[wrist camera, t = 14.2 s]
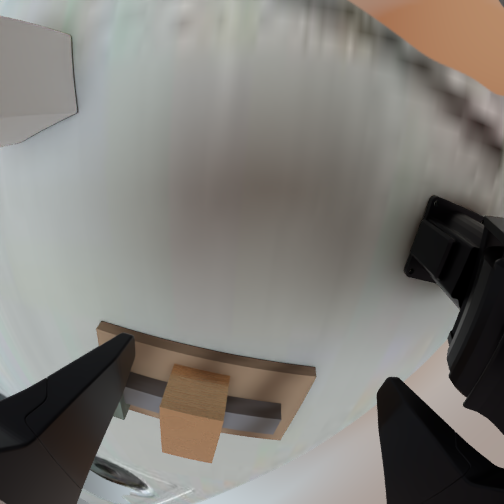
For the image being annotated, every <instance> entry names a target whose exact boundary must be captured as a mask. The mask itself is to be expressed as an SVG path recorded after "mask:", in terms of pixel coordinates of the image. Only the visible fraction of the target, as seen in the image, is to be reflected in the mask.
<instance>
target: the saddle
mask: <svg viewBox="0 0 504 504" xmlns="http://www.w3.org/2000/svg"><path fill="white" fill-rule="evenodd" d="M229 381H230V376H228V375H223V374H218V373H213V372H209V371H204V370H199V369H195V368H191V367H187V366H182V365H178V364H174V366H173V369H172V372H171V375H170V377H169V380H168V383H167V386H166V389H165V392H164V395H163V398H162V401H161V404H160V407H159V408H160V427H161V442H162V452H164V453H168V454H171V455H175V456H180V457H184V458H188V459H193V460H198V461H203V462H208V463H212V460H213V457H214V453H215V450H216V446H217V443H218V440H219V436H220V433H221V429H222V426H223V422H224V416H225V409H226V402H227V395H228V388H229Z"/></svg>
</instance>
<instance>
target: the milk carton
mask: <svg viewBox="0 0 504 504" xmlns="http://www.w3.org/2000/svg"><path fill="white" fill-rule="evenodd" d="M75 113H77V105H76V97H75V88H74V78H73V66H72V50H71V36H70V35H68V34H66V33H63V32H59V31H56V30H53V29H50V28H47V27H43V26H40V25H36V24H32V23H29V22H25V21H21V20H17V19H12V18H8V17H3V16H0V147H3V146H8V145H13V144H18V143H21V142H22V141H24V140H26V139H28V138H29V137H31V136H33V135H35V134H36V133H38V132H40V131H42V130H44V129H46V128H47V127H49V126H51V125H53V124H55V123H57V122H59V121H61V120H63V119H65V118H67V117H69V116H71V115H73V114H75Z"/></svg>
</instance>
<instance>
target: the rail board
mask: <svg viewBox="0 0 504 504" xmlns="http://www.w3.org/2000/svg"><path fill="white" fill-rule="evenodd" d="M96 330H97V337H98V343H99V346H100V345H102V344H103V343H105V342H107V341H108V340H110V339H112V338H113V337H115V336H117V335H118V334H120V333H123V332H125V333H128V334H131V335H133V336H134V338H135V351H136V354H135V359H134V362H133V365H132V368H131V371H130V374H129V377H128V380H127V383H126V386H125V389H124V392H123V395H122V397H121V400H120V402H119V404H118V406H117V408H116V410H115V413H114V415H113V416H114V417H117V418H120V419H123V420H124V419H125V417H126V415H127V412H128V410H133V411H136V412H139V413H142V414H145V415H149V416H152V417H156V418H159V419H160V408H159V407H160V404H161V401H162V398H163V395H164V392H165V389H166V386H167V383H168V380H169V377H170V375H171V372H172V369H173V366H174V364H178V365H182V366H187V367H191V368H195V369H199V370H204V371H209V372H213V373H218V374H223V375H228V376H230V381H229V388H228V395H227V402H226V409H225V416H224V422H223V426H222V429H221V433H227V434H233V435H240V436H247V437H255V438H263V439H272V440H281V438H282V436H283V435H284V433H285V431H286V430H287V428H288V426H289V425H290V423H291V421H292V420H293V418H294V416H295V415H296V413H297V411H298V409H299V408H300V406H301V404H302V402H303V401H304V399H305V397H306V395H307V393H308V392H309V390H310V388H311V386H312V384H313V382H314V380H315V378H316V371H315V367H308V366H300V365H293V364H286V363H279V362H272V361H266V360H260V359H254V358H248V357H243V356H237V355H232V354H227V353H222V352H217V351H212V350H208V349H203V348H199V347H194V346H190V345H186V344H181V343H177V342H173V341H169V340H165V339H161V338H158V337H154V336H150V335H147V334H143V333H139V332H136V331H132V330H129V329H126V328H122V327H119V326H116V325H113V324H109V323H106V322H103V321H101V323H100V324H99V326H98V327H97V328H96Z"/></svg>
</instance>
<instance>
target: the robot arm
mask: <svg viewBox="0 0 504 504" xmlns="http://www.w3.org/2000/svg"><path fill="white" fill-rule="evenodd" d="M436 200H437V204H436V205H435V206H434V202H435V201H436ZM481 221H482V223H481ZM411 268H412V270H411V271H410V272H409V270H410V269H411ZM404 273H405V274H406V275H407V276H408V277H411V278H415V279H420V280H424V281H429V282H433V283H437V284H438V285H439V286H440V288H441V289H442V290H443V291H444V292H445V293H446V294H447V295H448V297H449V298H450V299H451V300H452V301H453V302H454V303H455V305H456V306H457V307H458V308H459V309H460V312H459V314H458V317H457V320H456V322H455V325H454V327H453V329H452V331H450V333H449V336H448V343H449V348H448V353H447V362H448V366H449V370H450V373H449V378H450V380H451V381H452V383H453V385H454V386H455V387H456V388H457V390H459V392H460V393H462V394H463V395H464V396H465V397H467V399H466V400H465V402H464V403H463V406H464V407H465V408H468V409H470V410H474V411H477V412H478V413H480V414H482V415H483V416H485V417H486V418H488V419H489V420H490V421H491V422H492V423H493V424H494V425H495V426H496V427H497V428H498V429H499V430H500V431H501V432H502V433H503V435H504V218H500V217H492V216H485V217H483V216H481V215H479V214H477V213H475V212H473V211H470V210H468V209H466V208H464V207H461V206H459V205H457V204H454V203H452V202H450V201H447V200H445V199H443V198H440V197H438V196H432V197H431V198H430V200H429V202H428V206H427V209H426V212H425V215H424V218H423V221H422V222H421V224H420V227H419V230H418V232H417V235H416V238H415V241H414V243H413V246H412V248H411V253H410V256H409V258H408V261H407V263H406V265H405V268H404ZM135 354H136V351H135V338H134V336H133V335H131V334H128V333H125V332H123V333H120V334H118V335H117V336H115V337H113V338H112V339H110V340H108V341H107V342H105V343H103V344H102V345H100V346H98V347H97V348H95V349H93V350H92V351H90V352H88V353H87V354H85V355H83V356H82V357H80V358H78V359H77V360H75V361H73V362H72V363H70V364H68V365H67V366H65V367H63V368H62V369H60V370H58V371H56V372H55V373H53V374H51V375H50V376H48V377H47V378H45V379H43V380H41V381H40V382H38V383H36V384H34V385H32V386H31V387H29V388H27V389H25V390H23V391H21V392H19V393H17V394H15V395H12V396H10V397H8V398H5V399H3V400H1V401H0V504H77V501H78V499H79V496H80V493H81V491H82V490H81V489H82V488H83V485H84V483H85V480H86V478H87V475H88V473H89V470H90V468H91V465H92V463H93V461H94V458H95V456H96V454H97V451H98V449H99V446H100V444H101V442H102V440H103V437H104V435H105V433H106V430H107V428H108V426H109V424H110V421H111V419H112V417H113V415H114V413H115V410H116V408H117V406H118V404H119V402H120V400H121V397H122V395H123V392H124V389H125V386H126V383H127V380H128V377H129V374H130V371H131V368H132V365H133V362H134V359H135ZM377 409H378V428H379V436H380V444H381V452H382V459H383V467H384V476H385V487H386V499H387V504H504V468H500V467H497V466H495V465H494V464H492V463H491V462H490V461H489V460H488V459H486V458H485V457H484V456H482V455H481V454H480V453H479V452H477V451H476V450H475V449H474V448H473V447H472V446H470V445H469V444H468V443H467V442H466V441H465V440H464V439H463V438H461V437H460V436H459V435H458V434H457V433H456V432H455V431H454V430H453V429H452V428H451V427H450V426H449V425H448V424H447V423H446V422H445V421H444V420H443V419H442V418H440V416H438V415H437V414H436V413H435V412H434V411H433V410H432V409H431V408H430V407H429V406H428V405H427V404H426V403H425V402H424V401H423V400H421V399H420V397H418V396H417V395H416V394H415V393H414V392H413V391H412V390H411V389H410V388H409V387H408V386H407V385H406V384H405V383H404V382H403V381H402V380H400V379H399V378H398V377H388V378H387V379H386V380H385V382H384V383H383V385H382V386H381V387H380V389H379V390H378V392H377Z"/></svg>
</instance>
